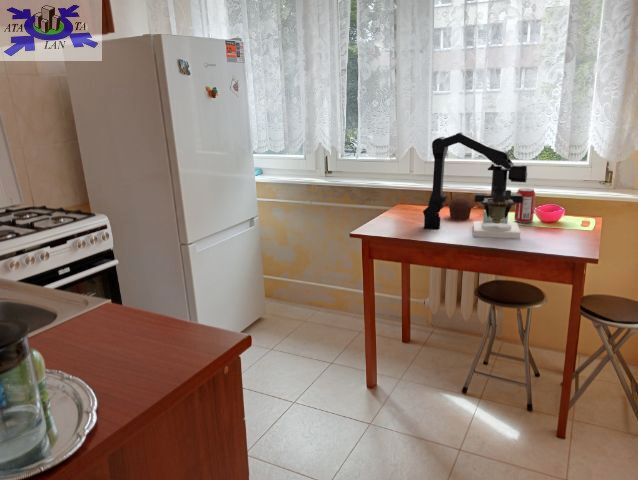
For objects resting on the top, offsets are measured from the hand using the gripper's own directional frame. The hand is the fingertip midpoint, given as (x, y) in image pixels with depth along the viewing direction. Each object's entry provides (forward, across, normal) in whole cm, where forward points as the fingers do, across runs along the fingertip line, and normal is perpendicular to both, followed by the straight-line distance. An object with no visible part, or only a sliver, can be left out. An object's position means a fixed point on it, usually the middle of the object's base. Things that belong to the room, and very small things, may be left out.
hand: (496, 218), depth 204 cm
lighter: (+7, 0, +32) cm, 33 cm away
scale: (+7, 0, +2) cm, 7 cm away
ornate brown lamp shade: (+2, 0, 0) cm, 2 cm away
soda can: (+7, +13, +22) cm, 26 cm away
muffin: (+7, -15, +24) cm, 29 cm away
